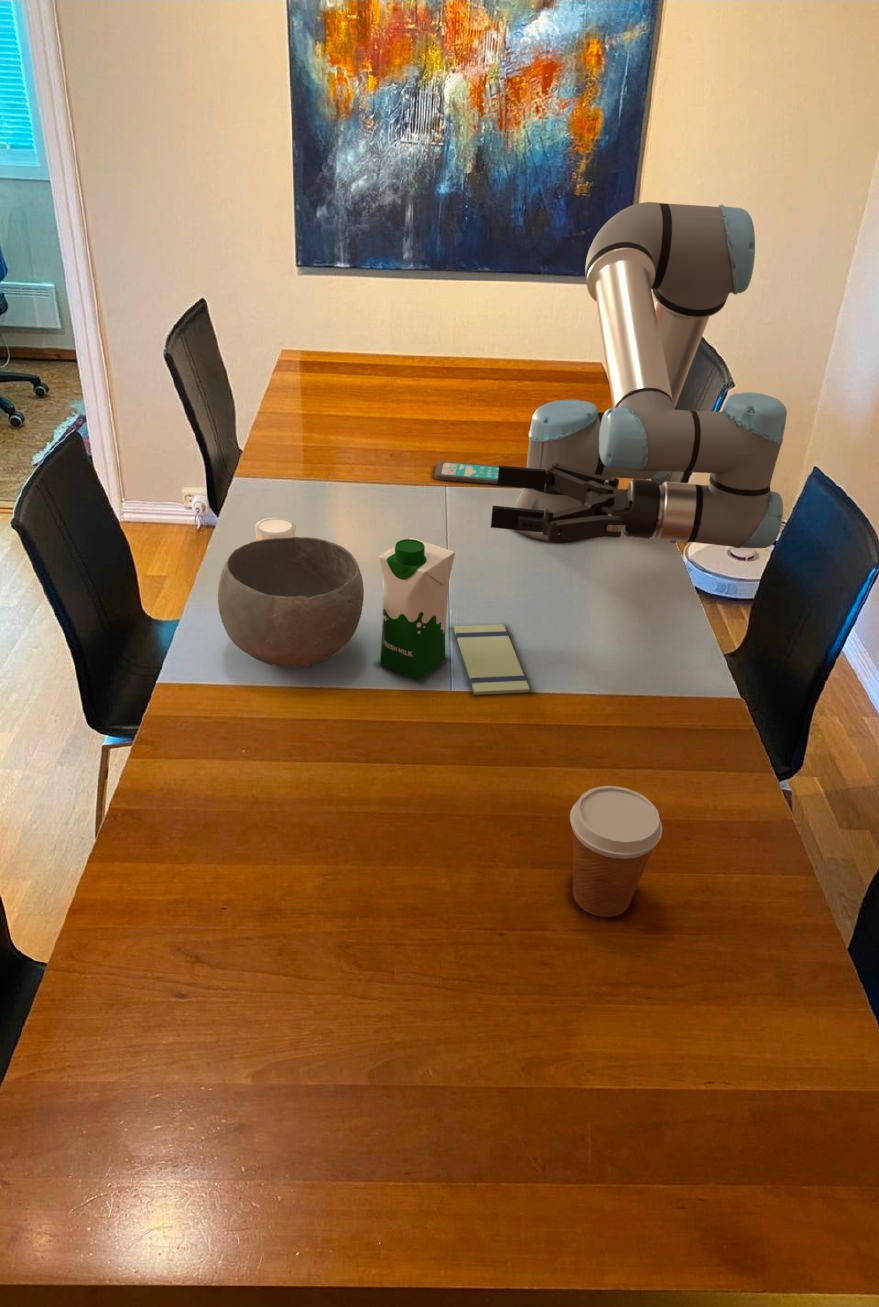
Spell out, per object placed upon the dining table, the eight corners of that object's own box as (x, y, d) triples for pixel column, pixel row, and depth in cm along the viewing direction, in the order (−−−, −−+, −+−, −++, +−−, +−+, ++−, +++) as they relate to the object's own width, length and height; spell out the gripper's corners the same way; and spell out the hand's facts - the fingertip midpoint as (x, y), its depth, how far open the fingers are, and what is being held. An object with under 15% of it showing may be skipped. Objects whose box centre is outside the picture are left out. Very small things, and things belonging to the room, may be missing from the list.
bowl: (248, 704, 134) (242, 609, 126) (205, 632, 149) (197, 543, 141) (385, 672, 143) (387, 581, 135) (331, 607, 158) (331, 521, 150)
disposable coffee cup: (550, 865, 111) (563, 783, 105) (633, 863, 112) (650, 782, 106) (567, 930, 103) (581, 846, 97) (655, 927, 104) (675, 844, 98)
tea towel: (503, 627, 155) (504, 624, 155) (529, 692, 140) (530, 688, 140) (453, 629, 154) (453, 625, 154) (474, 695, 139) (474, 691, 139)
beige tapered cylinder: (289, 574, 166) (288, 536, 163) (250, 568, 167) (248, 531, 164) (302, 556, 172) (301, 520, 168) (264, 551, 173) (263, 514, 169)
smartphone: (437, 459, 211) (507, 465, 210) (437, 464, 212) (507, 469, 211) (434, 475, 204) (506, 480, 203) (433, 479, 204) (505, 485, 204)
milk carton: (371, 665, 144) (373, 542, 133) (405, 640, 151) (410, 520, 140) (421, 686, 140) (427, 561, 129) (454, 658, 147) (463, 537, 136)
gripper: (659, 580, 120) (486, 563, 122) (645, 498, 141) (498, 485, 142) (670, 524, 116) (491, 507, 117) (654, 448, 137) (502, 435, 138)
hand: (494, 495), depth 130 cm, fingers open, 13 cm apart
